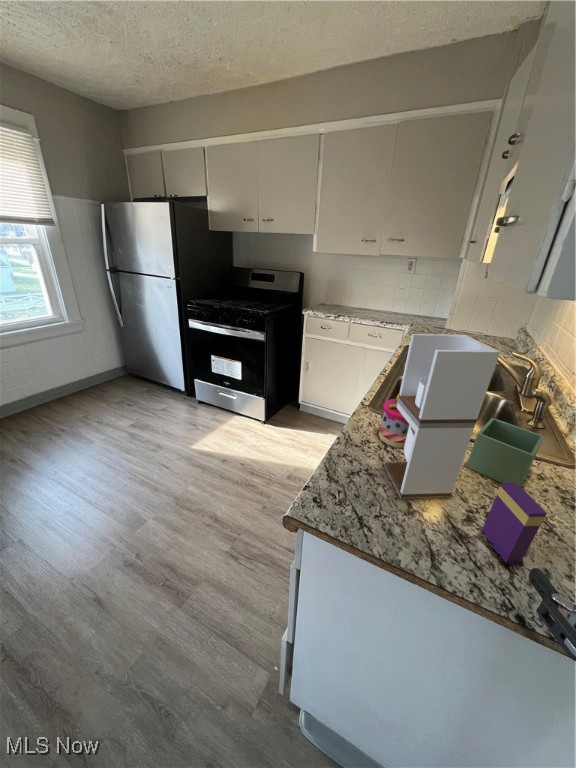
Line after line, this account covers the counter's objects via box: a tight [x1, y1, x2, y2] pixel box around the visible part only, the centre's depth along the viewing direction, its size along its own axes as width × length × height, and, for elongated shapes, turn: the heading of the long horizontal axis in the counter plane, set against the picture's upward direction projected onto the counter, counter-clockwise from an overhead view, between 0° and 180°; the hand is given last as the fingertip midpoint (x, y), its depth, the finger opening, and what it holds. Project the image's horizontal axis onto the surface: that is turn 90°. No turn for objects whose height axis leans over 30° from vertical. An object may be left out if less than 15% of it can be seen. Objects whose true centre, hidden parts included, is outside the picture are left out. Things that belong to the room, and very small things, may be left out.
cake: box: [378, 393, 410, 449], centre depth 87 cm, size 10×11×15 cm
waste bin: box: [466, 417, 545, 488], centre depth 77 cm, size 11×11×11 cm
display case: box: [383, 333, 501, 500], centre depth 67 cm, size 11×11×35 cm
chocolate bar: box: [481, 483, 548, 564], centre depth 57 cm, size 3×7×13 cm, turn 3°
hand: (559, 570), depth 47 cm, fingers open, 8 cm apart
